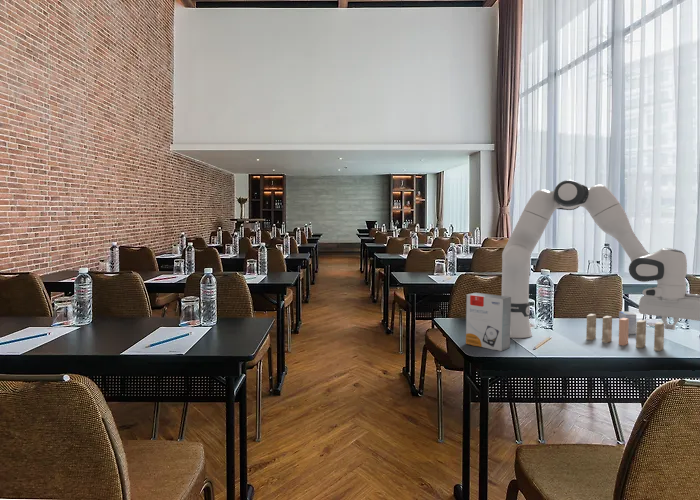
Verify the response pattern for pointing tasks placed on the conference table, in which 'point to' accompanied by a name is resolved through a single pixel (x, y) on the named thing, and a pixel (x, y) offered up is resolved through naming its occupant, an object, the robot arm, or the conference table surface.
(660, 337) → the end domino
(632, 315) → the medicine box
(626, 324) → the domino
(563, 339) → the conference table surface
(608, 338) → the domino
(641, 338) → the domino
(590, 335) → the domino
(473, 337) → the hard drive box
